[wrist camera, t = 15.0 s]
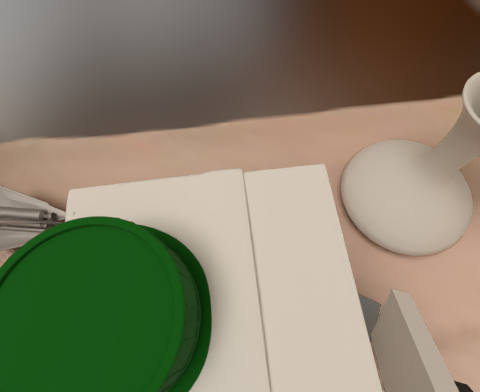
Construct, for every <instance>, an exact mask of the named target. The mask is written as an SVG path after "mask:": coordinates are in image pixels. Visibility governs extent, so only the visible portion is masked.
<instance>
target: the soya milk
mask: <svg viewBox="0 0 480 392" xmlns="http://www.w3.org/2000/svg"><path fill="white" fill-rule="evenodd" d="M0 392H383V391H382V387H381V383H380V379H379V375H378V371H377V367H376V363H375V359H374V355H373V351H372V347H371V343H370V340H369V336H368V332H367V328H366V324H365V320H364V316H363V312H362V308H361V304H360V300H359V296H358V292H357V288H356V284H355V280H354V276H353V272H352V269H351V265H350V261H349V257H348V253H347V249H346V245H345V241H344V237H343V233H342V229H341V225H340V221H339V217H338V213H337V209H336V205H335V201H334V197H333V194H332V190H331V186H330V182H329V178H328V174H327V170H326V166H325V164H316V165H306V166H297V167H288V168H278V169H269V170H260V171H251V172H243V170H242V169H238V168H235V169H224V170H216V171H209V172H205V173H203V174H196V175H187V176H178V177H170V178H161V179H153V180H145V181H136V182H128V183H119V184H111V185H102V186H94V187H86V188H78V189H72V190H70V192H69V194H68V199H67V206H66V217H65V222H64V223H61V224H58V225H56V226H53V227H51V228H49V229H47V230H45V231H43V232H42V233H40V234H38V235H37V236H35V237H34V238H32V239H31V240H29V241H28V242H27V243H25V244H24V245H23V246H21V247H20V248H19V249H18V250H17V251H16V252H15V253H14V254H13V255H12V256H10V257H9V259H8V260H7V261H6V262H5V263H4V264H3V265H2V266H1V268H0Z"/></svg>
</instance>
